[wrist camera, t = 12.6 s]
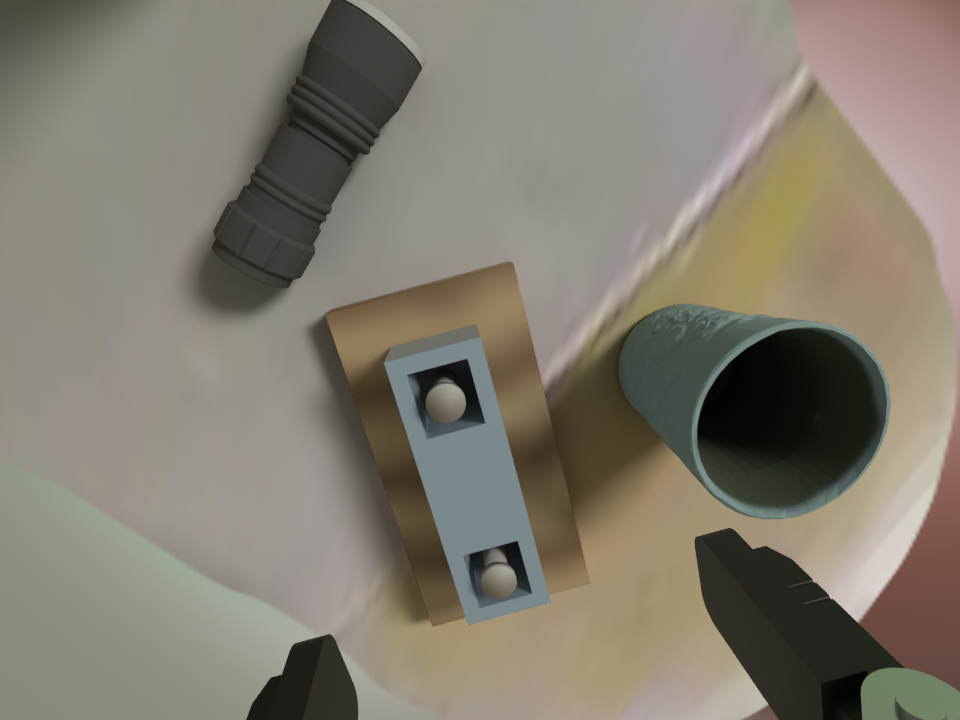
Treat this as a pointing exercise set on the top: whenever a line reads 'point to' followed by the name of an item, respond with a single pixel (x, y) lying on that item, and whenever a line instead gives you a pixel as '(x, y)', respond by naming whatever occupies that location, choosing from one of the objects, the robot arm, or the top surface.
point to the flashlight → (318, 141)
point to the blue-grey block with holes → (468, 473)
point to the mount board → (514, 405)
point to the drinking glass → (758, 404)
